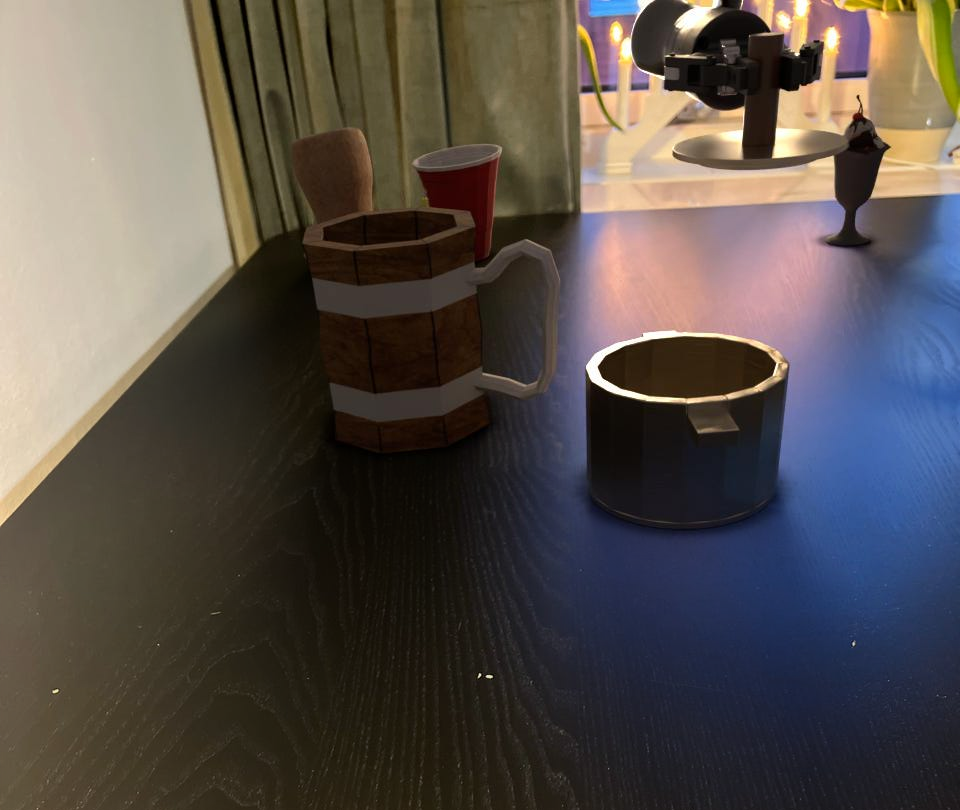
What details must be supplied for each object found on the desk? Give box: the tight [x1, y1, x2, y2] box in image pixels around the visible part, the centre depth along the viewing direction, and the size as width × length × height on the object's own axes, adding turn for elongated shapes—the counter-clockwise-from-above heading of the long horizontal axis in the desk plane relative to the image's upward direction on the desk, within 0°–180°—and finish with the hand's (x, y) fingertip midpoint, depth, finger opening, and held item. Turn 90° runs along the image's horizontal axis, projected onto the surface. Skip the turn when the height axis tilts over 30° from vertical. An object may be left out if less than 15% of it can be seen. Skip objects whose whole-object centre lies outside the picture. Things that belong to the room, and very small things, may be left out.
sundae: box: [824, 94, 892, 247], centre depth 111 cm, size 7×7×15 cm
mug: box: [301, 205, 561, 454], centre depth 76 cm, size 20×14×15 cm
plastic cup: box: [411, 143, 503, 262], centre depth 119 cm, size 11×11×12 cm
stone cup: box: [289, 127, 374, 260], centre depth 123 cm, size 15×12×15 cm
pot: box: [584, 330, 790, 530], centre depth 65 cm, size 13×18×8 cm
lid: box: [671, 31, 848, 171], centre depth 77 cm, size 14×14×9 cm
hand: (774, 77), depth 74 cm, fingers closed on lid, 2 cm apart
